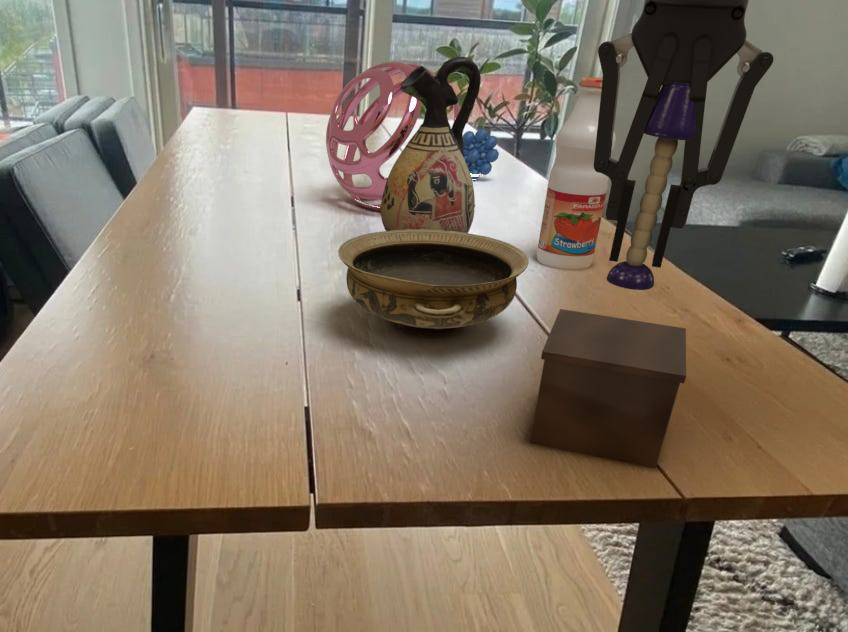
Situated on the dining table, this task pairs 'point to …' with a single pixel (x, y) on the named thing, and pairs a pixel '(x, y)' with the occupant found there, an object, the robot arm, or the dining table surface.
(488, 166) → the grapes
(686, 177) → the robot arm
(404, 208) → the ceramic jug
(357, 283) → the ceramic bowl
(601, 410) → the brown wooden box
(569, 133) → the fruit juice
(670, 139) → the toy lamp
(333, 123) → the spiral basket
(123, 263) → the dining table surface
